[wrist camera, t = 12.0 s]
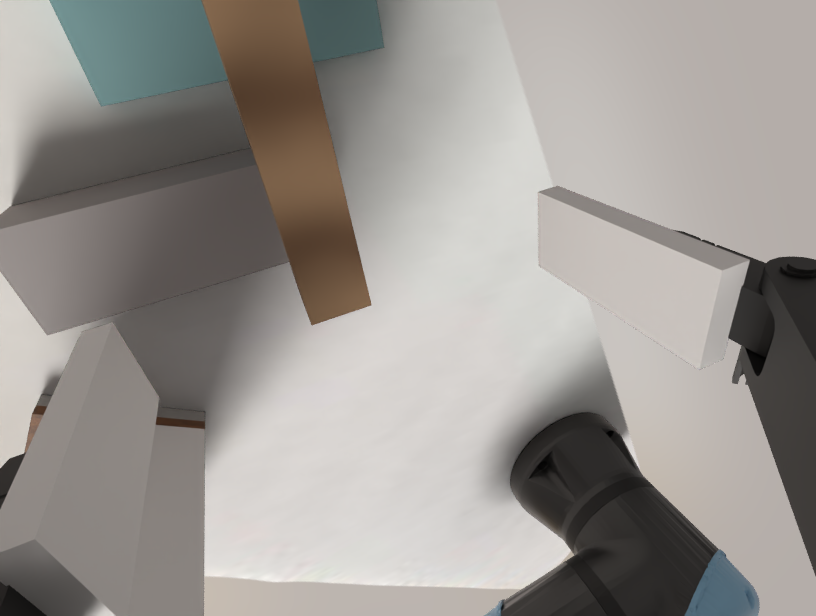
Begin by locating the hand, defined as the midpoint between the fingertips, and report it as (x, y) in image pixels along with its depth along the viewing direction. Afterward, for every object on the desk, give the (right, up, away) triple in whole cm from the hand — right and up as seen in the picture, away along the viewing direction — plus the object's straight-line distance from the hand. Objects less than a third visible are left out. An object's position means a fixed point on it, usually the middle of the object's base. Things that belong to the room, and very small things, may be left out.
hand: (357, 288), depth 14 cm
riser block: (-13, +5, +15) cm, 21 cm away
